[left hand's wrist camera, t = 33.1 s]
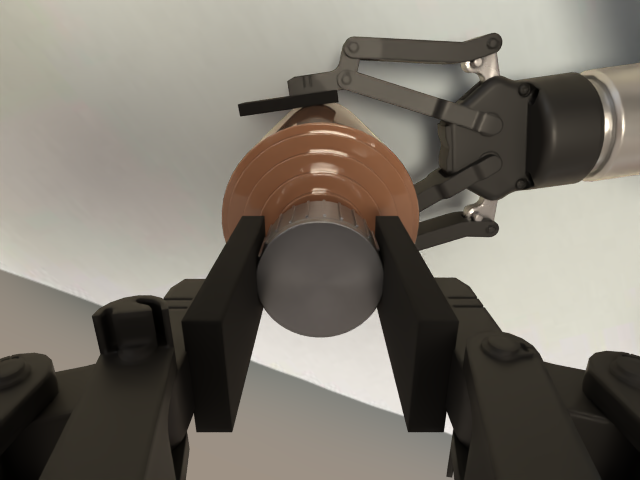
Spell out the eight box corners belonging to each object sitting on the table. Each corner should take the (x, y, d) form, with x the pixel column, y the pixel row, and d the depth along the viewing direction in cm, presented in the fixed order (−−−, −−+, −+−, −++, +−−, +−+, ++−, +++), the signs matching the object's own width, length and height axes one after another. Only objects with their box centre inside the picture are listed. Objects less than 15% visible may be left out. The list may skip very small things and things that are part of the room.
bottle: (344, 210, 37) (380, 405, 15) (258, 175, 36) (158, 329, 14) (384, 124, 35) (502, 204, 12) (293, 83, 34) (239, 88, 11)
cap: (336, 175, 13) (340, 192, 11) (398, 268, 14) (411, 299, 12) (239, 239, 14) (226, 266, 12) (305, 322, 15) (302, 359, 13)
